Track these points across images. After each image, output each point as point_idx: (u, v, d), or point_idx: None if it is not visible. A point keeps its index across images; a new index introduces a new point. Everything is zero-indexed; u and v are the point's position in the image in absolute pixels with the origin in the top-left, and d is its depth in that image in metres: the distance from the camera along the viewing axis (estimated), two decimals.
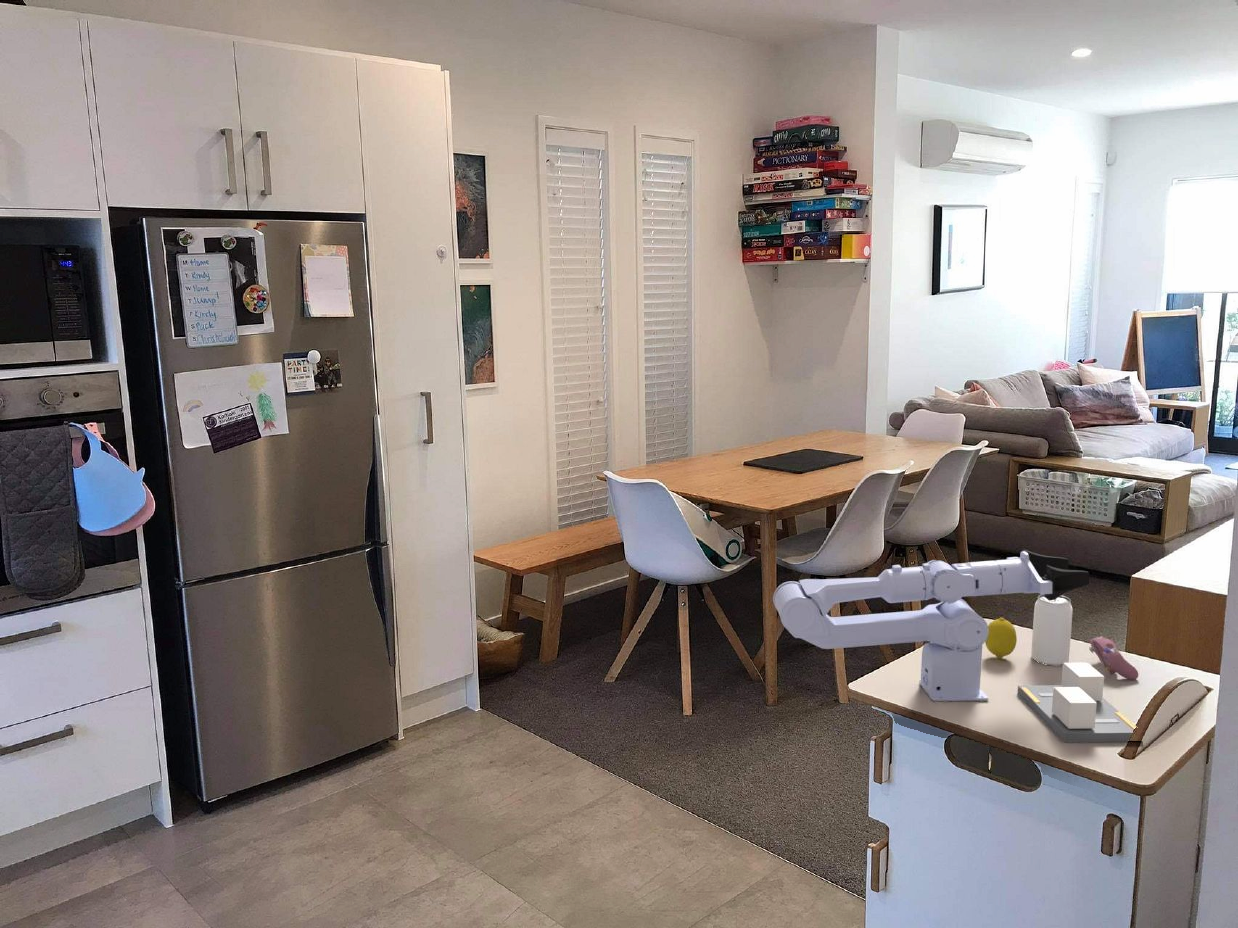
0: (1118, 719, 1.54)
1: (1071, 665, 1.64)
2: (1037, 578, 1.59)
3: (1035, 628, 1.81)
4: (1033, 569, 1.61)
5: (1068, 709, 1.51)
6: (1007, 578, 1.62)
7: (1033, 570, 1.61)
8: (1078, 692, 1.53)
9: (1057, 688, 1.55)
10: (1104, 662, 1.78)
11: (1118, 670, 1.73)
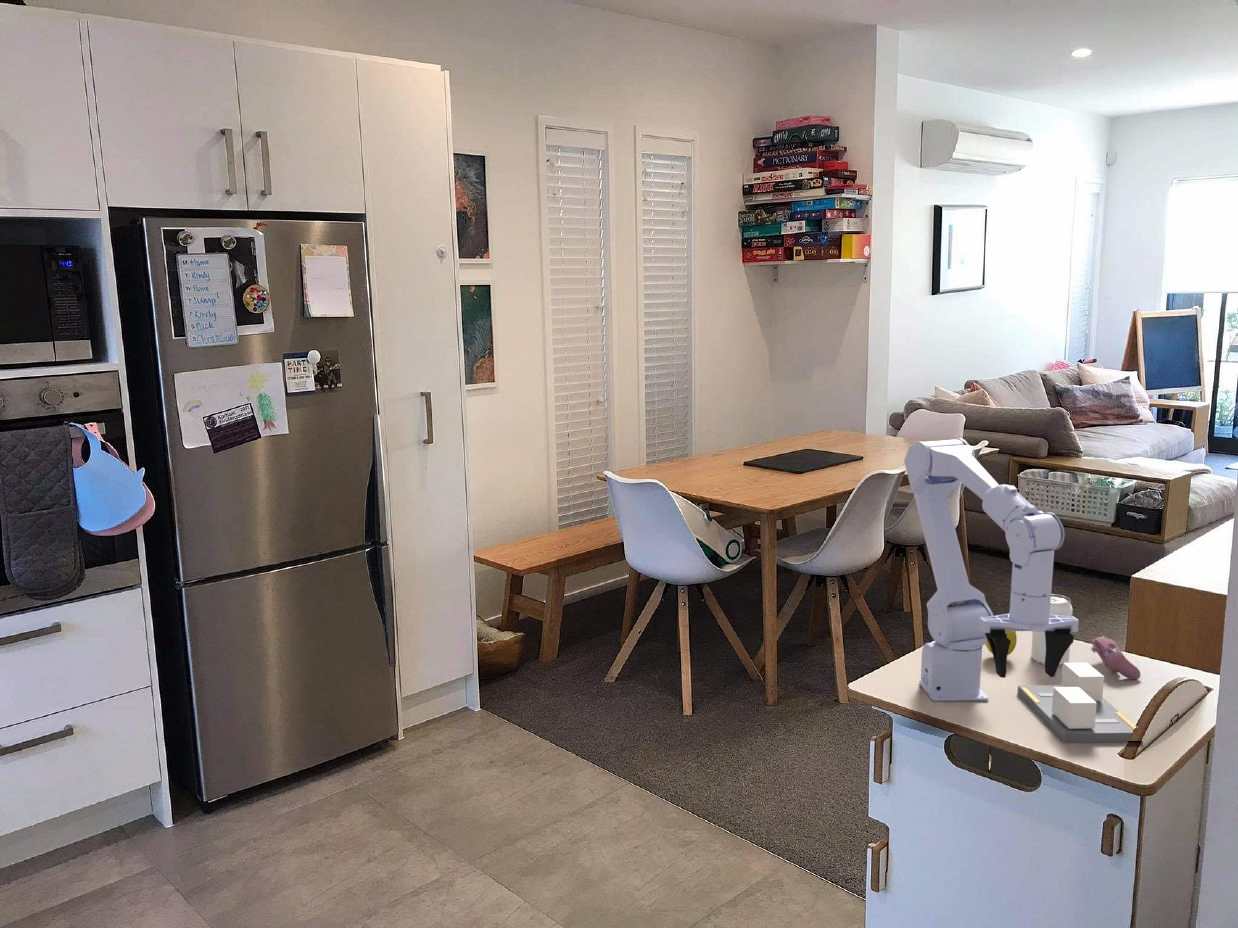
0: (1118, 719, 1.54)
1: (1071, 665, 1.64)
2: (995, 622, 1.49)
3: None
4: (1012, 626, 1.49)
5: (1068, 709, 1.51)
6: (1013, 597, 1.49)
7: (1010, 625, 1.49)
8: (1078, 692, 1.53)
9: (1057, 688, 1.55)
10: (1106, 662, 1.78)
11: (1120, 670, 1.73)
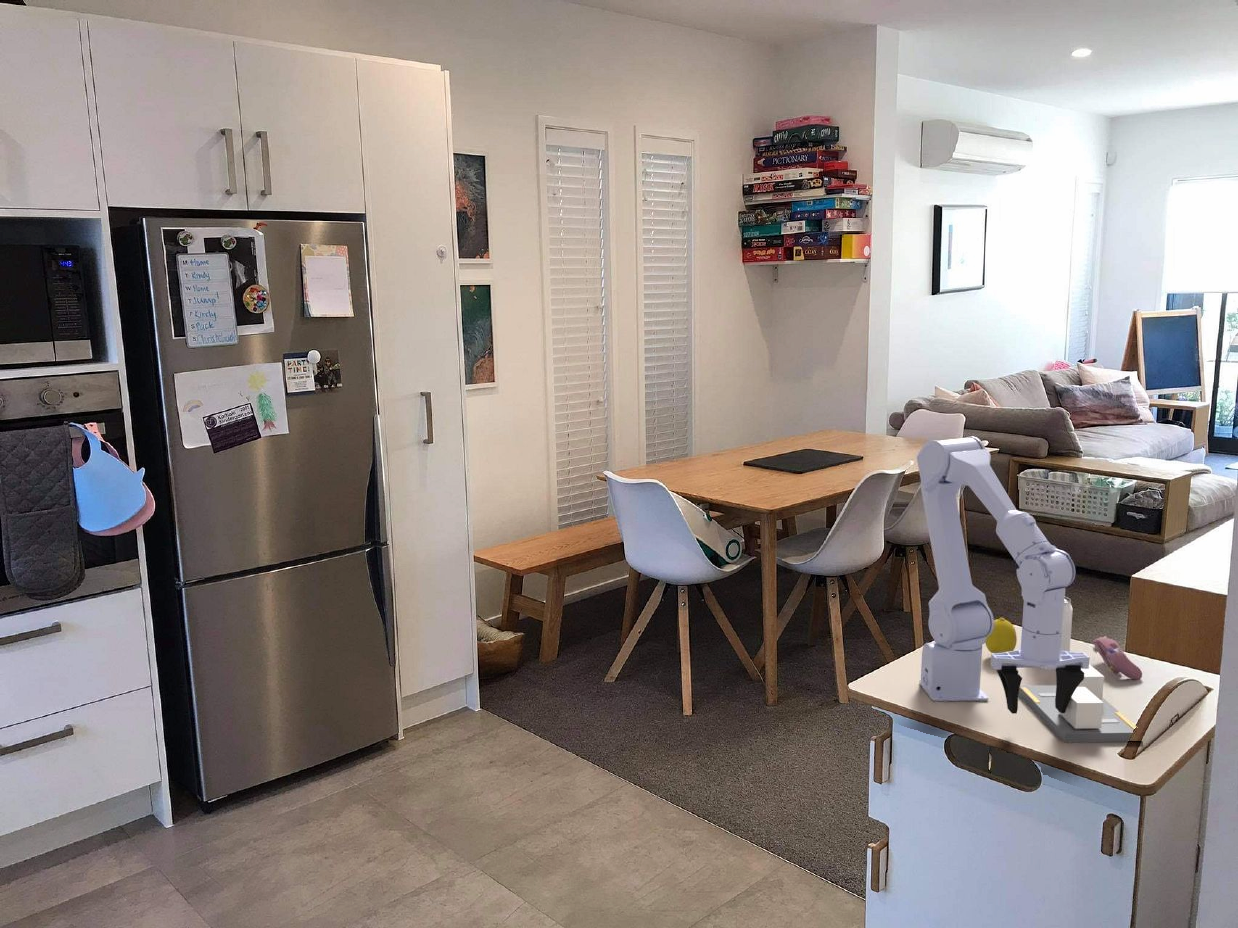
0: (1118, 719, 1.54)
1: None
2: (1006, 659, 1.50)
3: None
4: (1023, 663, 1.50)
5: (1074, 709, 1.51)
6: (1025, 634, 1.50)
7: (1021, 662, 1.50)
8: (1084, 692, 1.53)
9: None
10: (1108, 662, 1.78)
11: (1122, 670, 1.73)
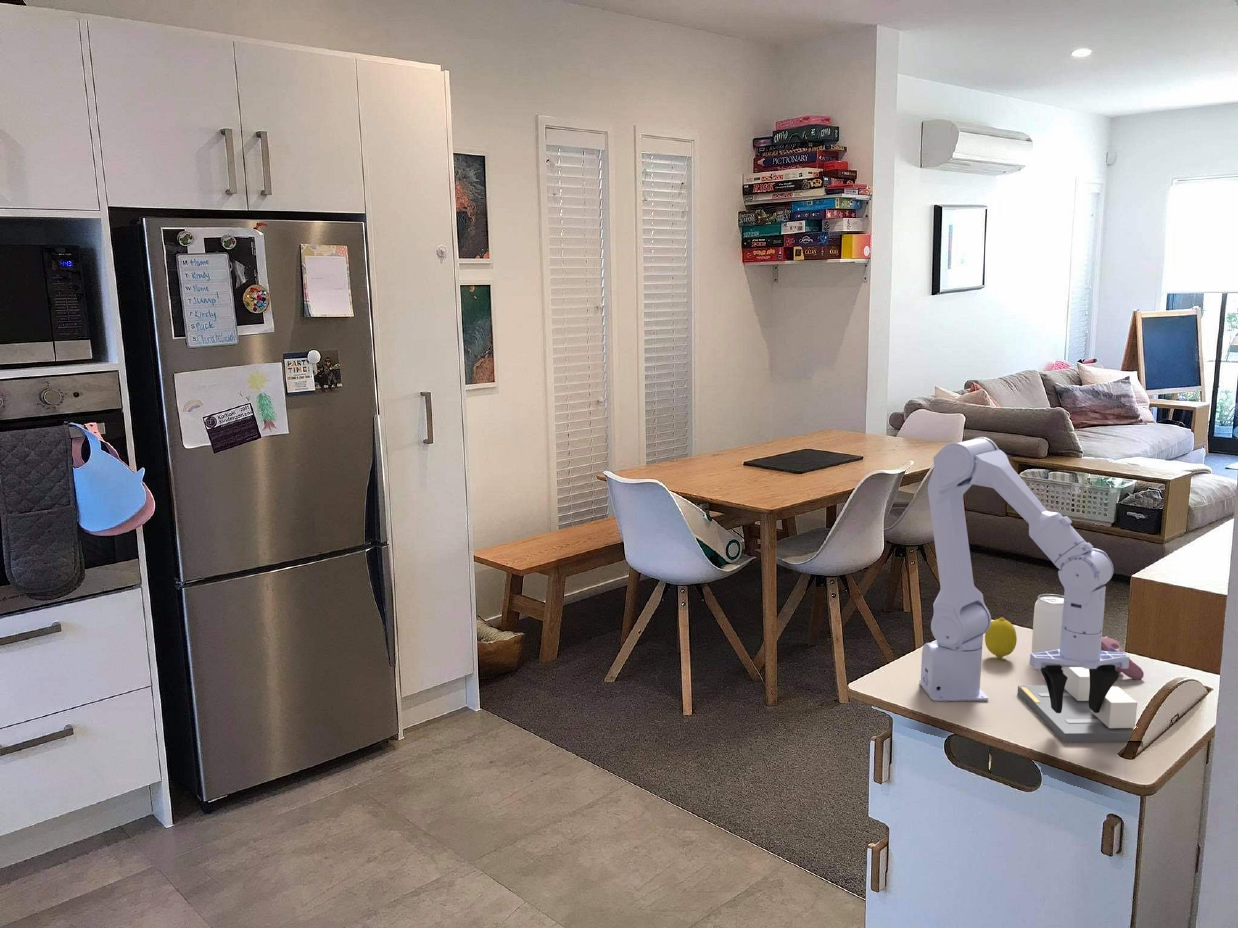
0: None
1: None
2: (1046, 659, 1.50)
3: (1035, 628, 1.81)
4: (1063, 662, 1.50)
5: (1108, 708, 1.51)
6: (1065, 634, 1.50)
7: (1061, 661, 1.50)
8: (1117, 692, 1.53)
9: None
10: None
11: (1123, 670, 1.73)
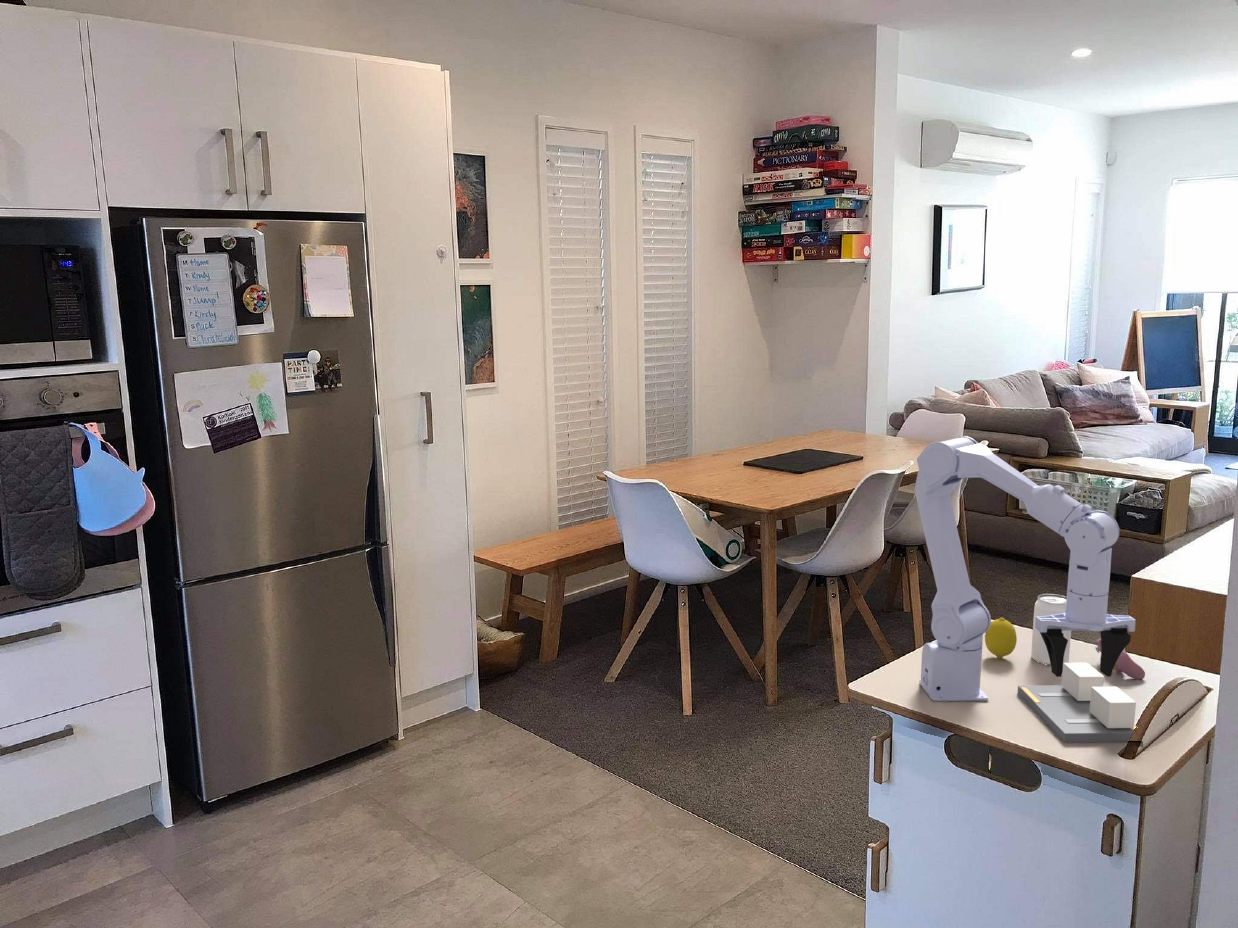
0: None
1: (1071, 665, 1.64)
2: (1052, 622, 1.49)
3: (1035, 628, 1.81)
4: (1069, 625, 1.49)
5: (1107, 708, 1.51)
6: (1070, 597, 1.49)
7: (1067, 624, 1.49)
8: (1116, 692, 1.53)
9: (1095, 688, 1.55)
10: None
11: (1125, 670, 1.73)
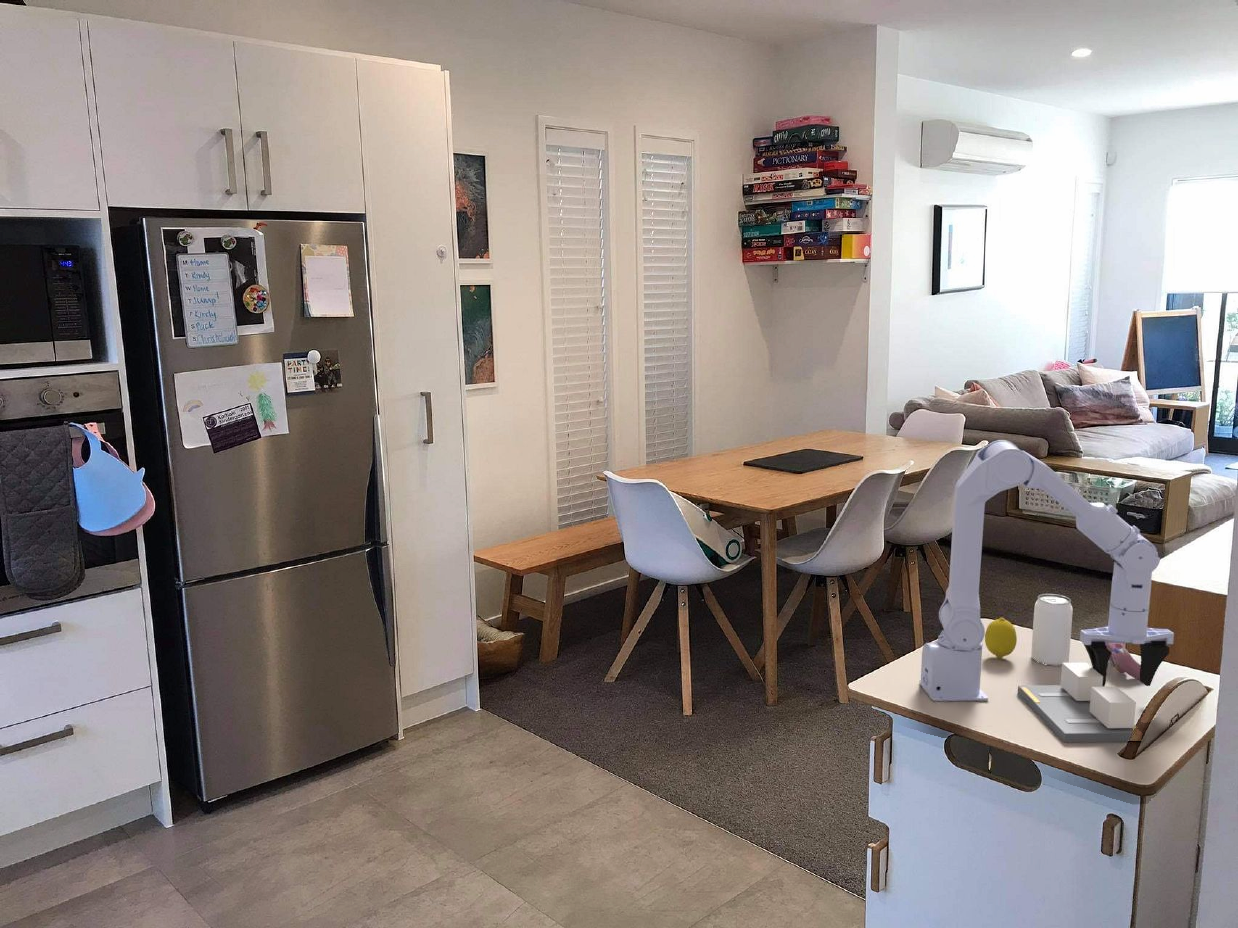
0: None
1: (1070, 665, 1.64)
2: (1096, 635, 1.60)
3: (1035, 628, 1.81)
4: (1112, 638, 1.59)
5: (1107, 708, 1.51)
6: (1113, 612, 1.60)
7: (1110, 637, 1.59)
8: (1116, 692, 1.53)
9: (1095, 688, 1.55)
10: (1113, 662, 1.78)
11: (1127, 670, 1.73)
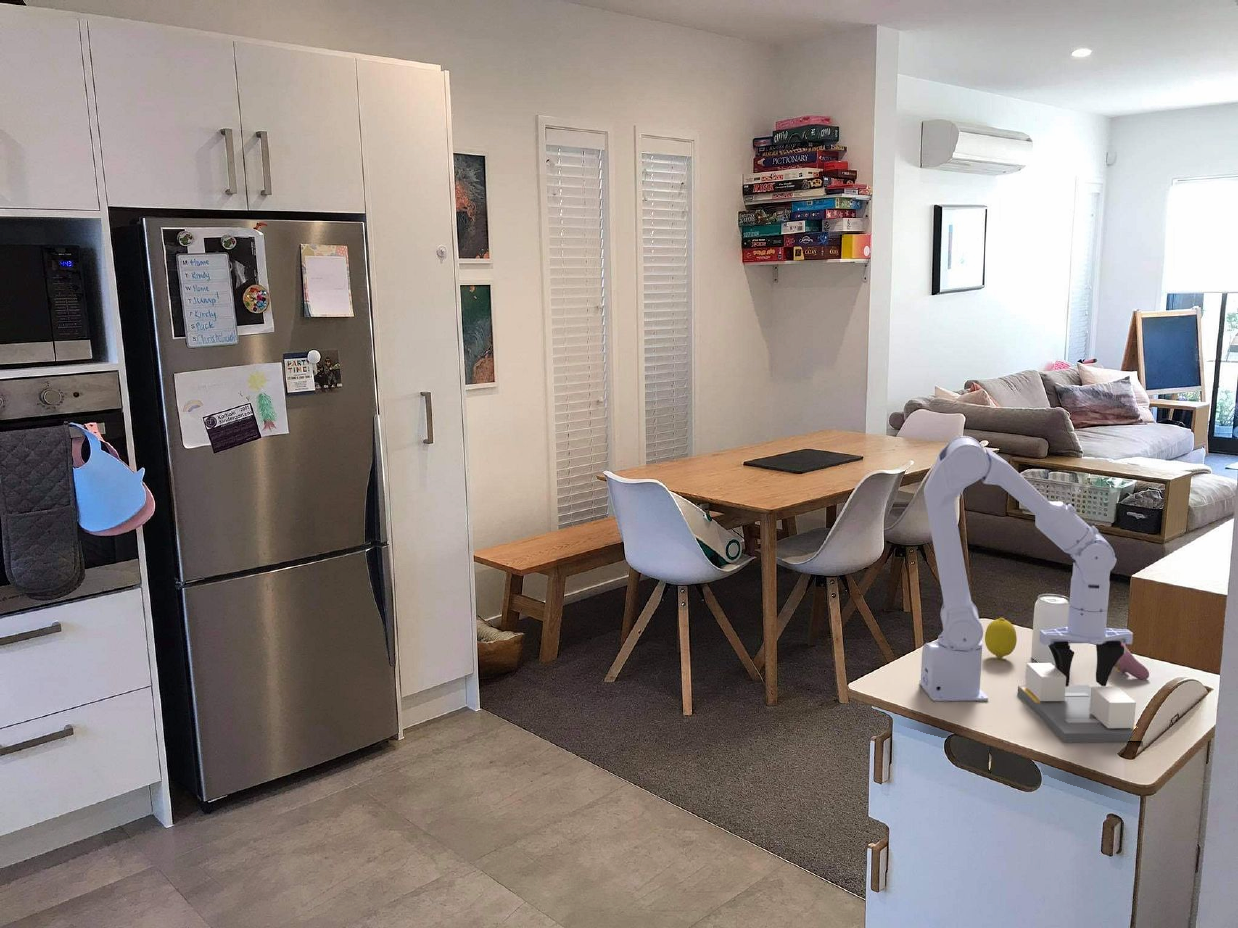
0: None
1: (1035, 665, 1.64)
2: (1055, 635, 1.60)
3: (1035, 628, 1.81)
4: (1071, 638, 1.59)
5: (1107, 708, 1.51)
6: (1072, 612, 1.60)
7: (1069, 638, 1.60)
8: (1116, 692, 1.53)
9: (1095, 688, 1.55)
10: None
11: (1129, 670, 1.73)
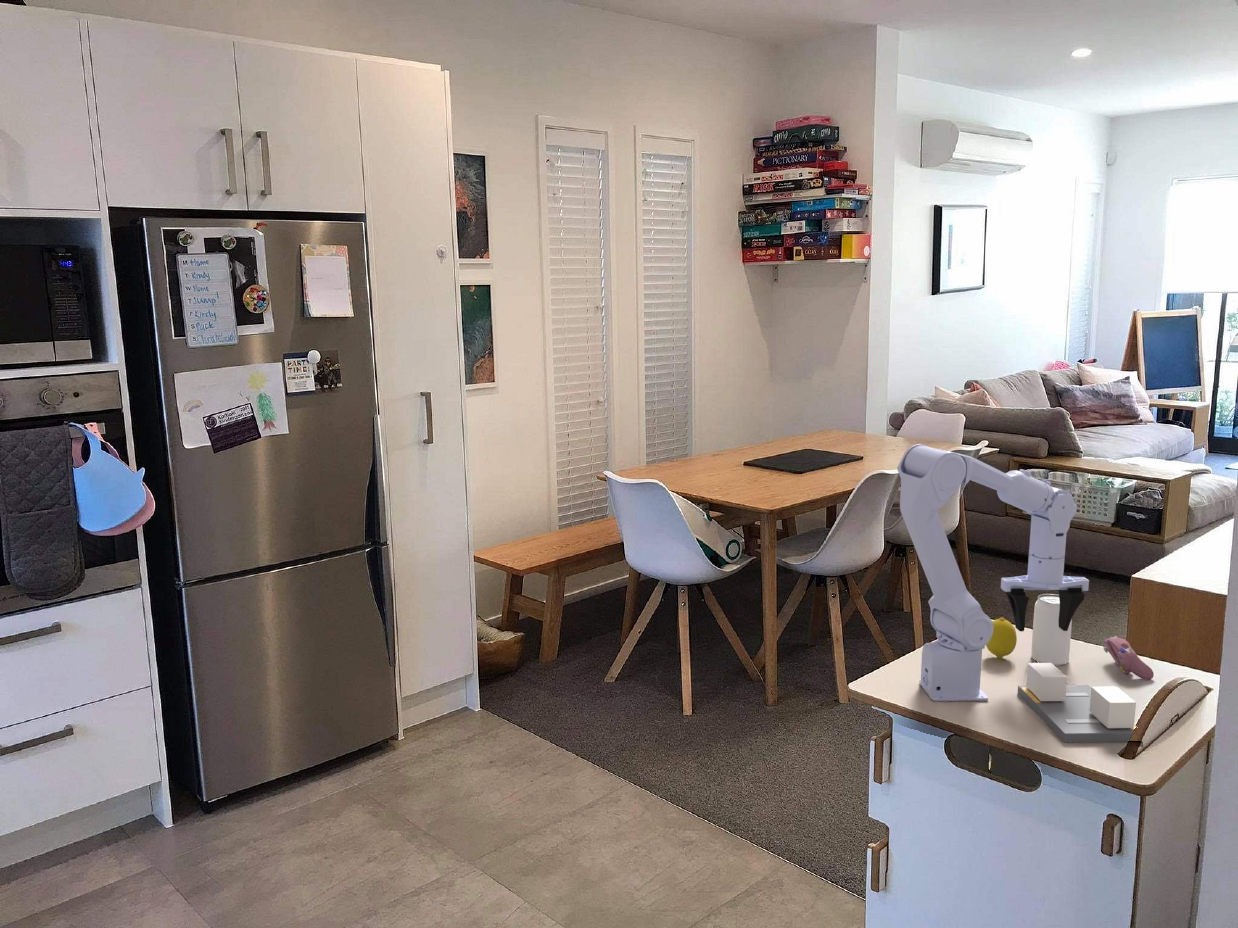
0: None
1: (1036, 665, 1.64)
2: (1015, 582, 1.69)
3: (1035, 628, 1.81)
4: (1030, 585, 1.68)
5: (1107, 708, 1.51)
6: (1031, 560, 1.69)
7: (1028, 584, 1.68)
8: (1116, 692, 1.53)
9: (1095, 688, 1.55)
10: (1119, 662, 1.78)
11: (1133, 670, 1.73)
